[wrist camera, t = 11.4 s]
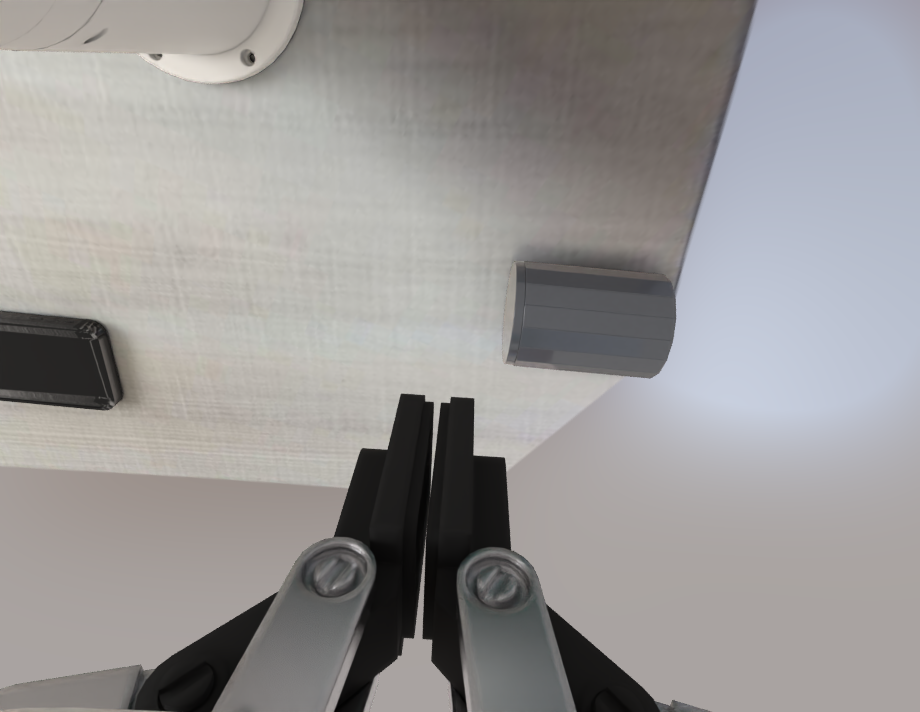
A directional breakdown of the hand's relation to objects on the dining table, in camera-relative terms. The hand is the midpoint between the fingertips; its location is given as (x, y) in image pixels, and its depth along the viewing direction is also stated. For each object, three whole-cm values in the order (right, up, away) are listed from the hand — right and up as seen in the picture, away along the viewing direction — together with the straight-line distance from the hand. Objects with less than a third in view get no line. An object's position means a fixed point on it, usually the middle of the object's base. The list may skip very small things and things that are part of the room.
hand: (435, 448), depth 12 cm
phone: (-35, +2, +31) cm, 47 cm away
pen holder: (+4, +5, +24) cm, 25 cm away
